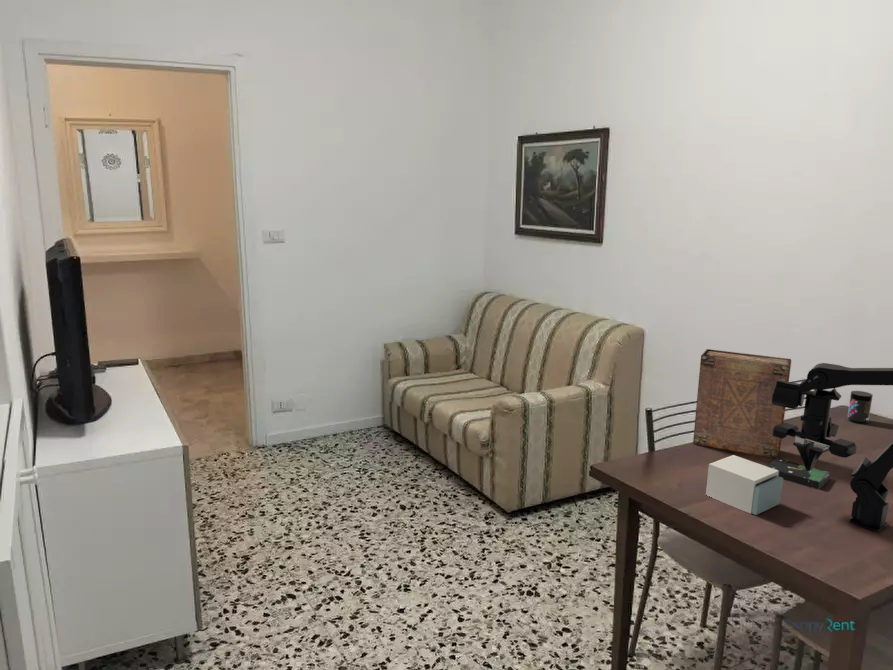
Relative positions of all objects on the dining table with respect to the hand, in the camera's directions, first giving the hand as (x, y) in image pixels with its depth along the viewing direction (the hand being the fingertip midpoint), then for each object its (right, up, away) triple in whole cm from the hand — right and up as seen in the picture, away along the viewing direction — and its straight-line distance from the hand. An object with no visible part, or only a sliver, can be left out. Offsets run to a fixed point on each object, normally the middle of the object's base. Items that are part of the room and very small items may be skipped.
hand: (808, 470), depth 176 cm
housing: (-15, -9, +6) cm, 19 cm away
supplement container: (+55, +4, +70) cm, 89 cm away
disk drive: (+8, -7, +21) cm, 23 cm away
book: (0, -1, +43) cm, 43 cm away
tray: (-14, -9, +5) cm, 18 cm away
